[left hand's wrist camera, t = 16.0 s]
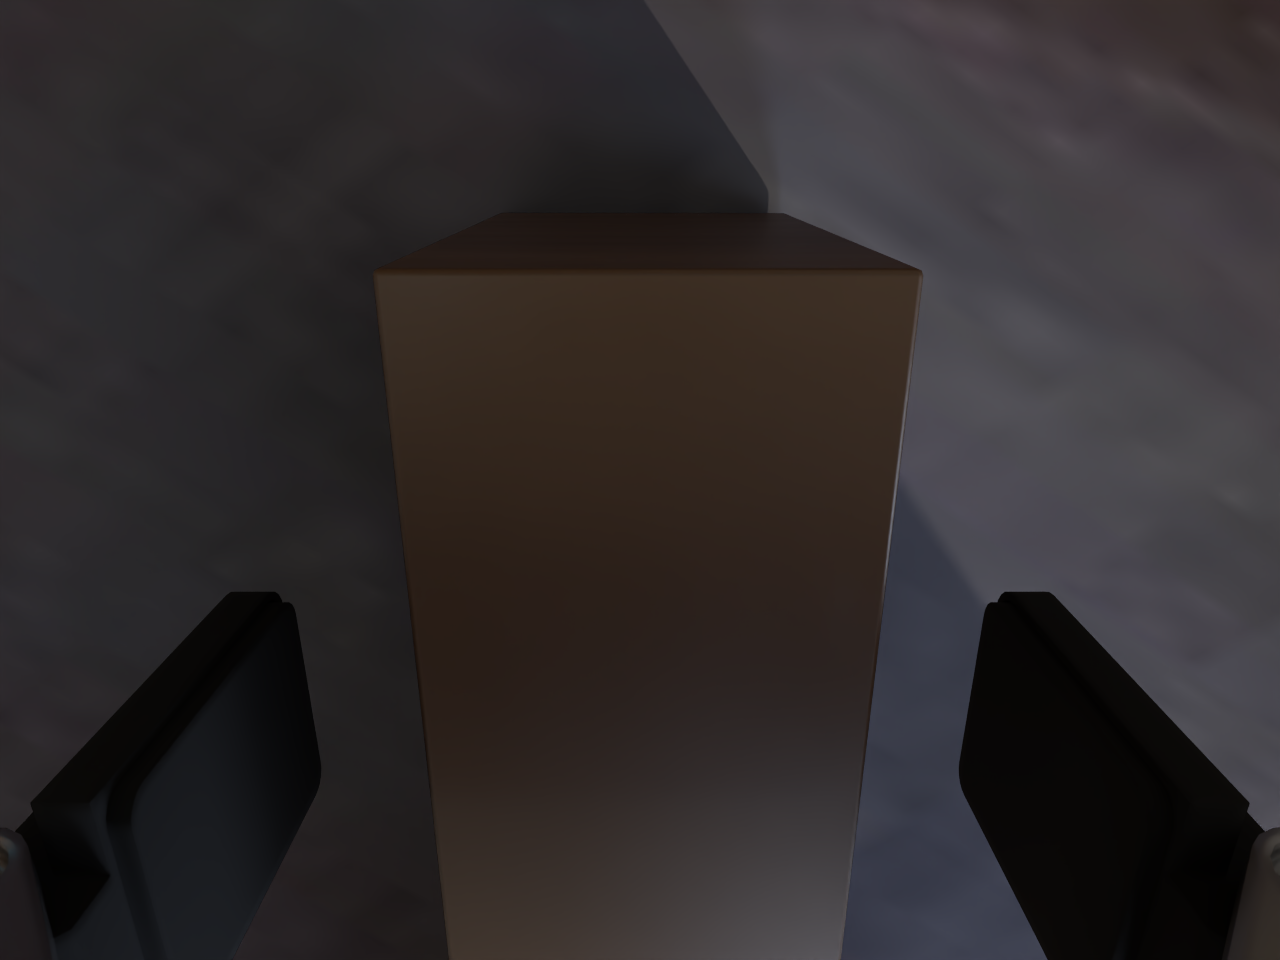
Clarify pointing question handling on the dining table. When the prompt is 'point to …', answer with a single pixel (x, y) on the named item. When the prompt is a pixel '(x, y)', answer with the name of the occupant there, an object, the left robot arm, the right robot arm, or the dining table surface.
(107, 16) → the dining table surface
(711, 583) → the post
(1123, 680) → the left robot arm
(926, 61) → the dining table surface
